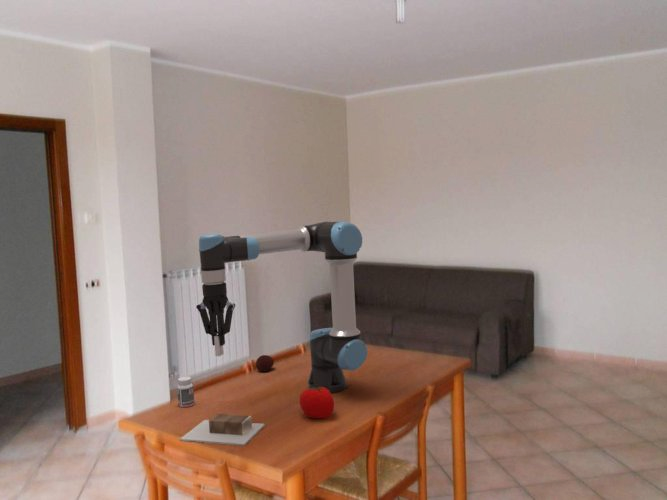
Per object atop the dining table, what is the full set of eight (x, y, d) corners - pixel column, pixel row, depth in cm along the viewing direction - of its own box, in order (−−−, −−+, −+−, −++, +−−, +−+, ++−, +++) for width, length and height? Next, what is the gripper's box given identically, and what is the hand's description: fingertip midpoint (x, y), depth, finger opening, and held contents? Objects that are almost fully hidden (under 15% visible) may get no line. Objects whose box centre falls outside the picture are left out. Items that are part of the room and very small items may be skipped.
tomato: (325, 424, 191) (323, 394, 190) (293, 418, 198) (291, 388, 197) (343, 413, 200) (341, 384, 200) (312, 407, 207) (310, 379, 206)
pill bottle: (197, 402, 218) (195, 376, 217) (188, 408, 213) (187, 381, 212) (184, 401, 220) (182, 375, 219) (175, 406, 215) (173, 380, 214)
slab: (218, 425, 193) (252, 427, 190) (209, 432, 187) (244, 435, 184) (217, 413, 193) (251, 415, 189) (208, 420, 187) (243, 422, 183)
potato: (278, 368, 258) (277, 353, 257) (265, 374, 251) (265, 358, 250) (265, 366, 262) (264, 351, 261) (252, 372, 254) (251, 356, 254)
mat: (265, 425, 193) (264, 423, 193) (244, 445, 177) (244, 443, 177) (205, 421, 199) (204, 419, 199) (179, 440, 184) (179, 438, 184)
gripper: (237, 280, 189) (243, 352, 191) (201, 281, 192) (206, 351, 194) (227, 284, 182) (233, 358, 184) (189, 284, 185) (195, 357, 187)
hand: (219, 355), depth 189 cm, fingers closed
